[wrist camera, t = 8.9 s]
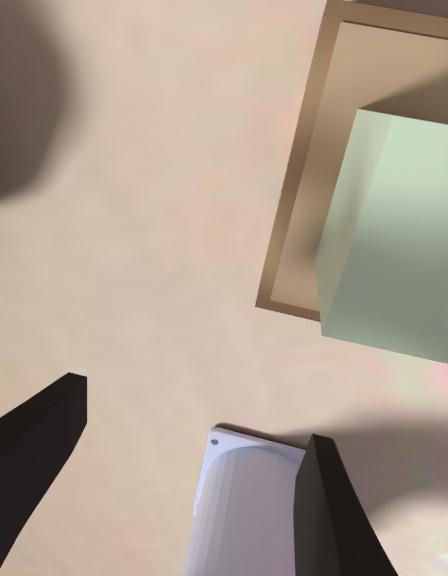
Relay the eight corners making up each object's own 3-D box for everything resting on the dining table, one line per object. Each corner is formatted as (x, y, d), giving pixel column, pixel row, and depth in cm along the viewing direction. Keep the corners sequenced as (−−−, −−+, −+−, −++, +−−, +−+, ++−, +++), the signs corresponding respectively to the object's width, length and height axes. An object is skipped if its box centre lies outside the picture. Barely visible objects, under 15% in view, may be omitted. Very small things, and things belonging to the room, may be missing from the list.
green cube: (457, 290, 16) (534, 383, 11) (314, 260, 17) (321, 335, 12) (530, 139, 14) (678, 165, 8) (357, 108, 14) (392, 115, 9)
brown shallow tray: (449, 323, 20) (473, 359, 18) (260, 280, 21) (254, 308, 18) (583, 59, 15) (649, 51, 12) (323, 14, 16) (328, -4, 13)
